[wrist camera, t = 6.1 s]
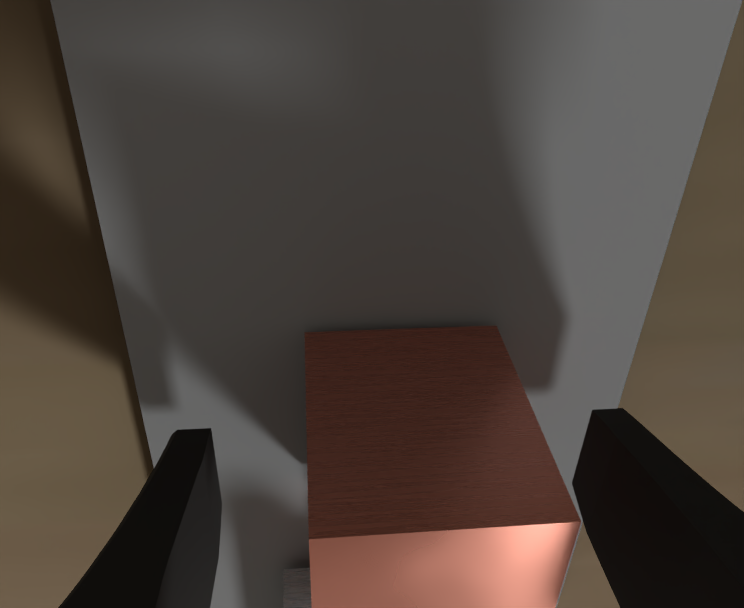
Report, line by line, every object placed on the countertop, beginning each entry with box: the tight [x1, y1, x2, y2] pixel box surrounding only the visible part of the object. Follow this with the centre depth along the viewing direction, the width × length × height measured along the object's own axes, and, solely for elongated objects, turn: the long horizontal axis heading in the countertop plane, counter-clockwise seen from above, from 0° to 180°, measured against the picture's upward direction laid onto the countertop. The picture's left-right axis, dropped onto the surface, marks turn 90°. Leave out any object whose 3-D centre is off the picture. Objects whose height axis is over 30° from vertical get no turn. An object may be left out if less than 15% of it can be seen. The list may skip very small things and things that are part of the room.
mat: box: [50, 0, 742, 608], centre depth 14 cm, size 17×10×1 cm, turn 178°
